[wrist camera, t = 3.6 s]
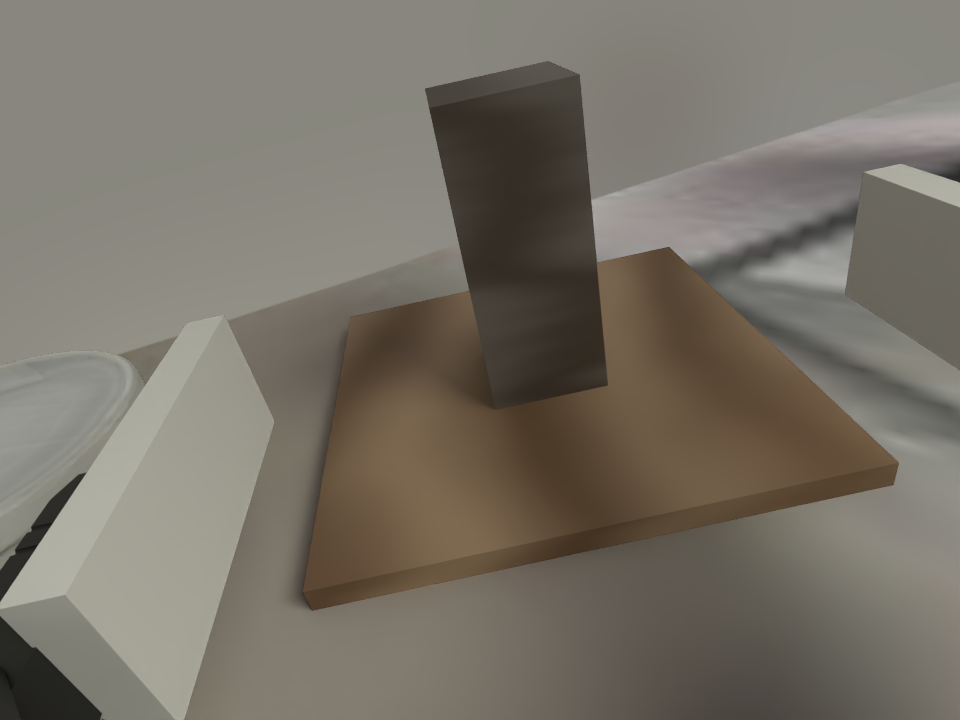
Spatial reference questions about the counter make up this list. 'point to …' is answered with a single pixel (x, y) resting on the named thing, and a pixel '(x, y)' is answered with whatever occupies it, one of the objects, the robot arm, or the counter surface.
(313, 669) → the counter surface
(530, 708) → the counter surface
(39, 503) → the ramekin
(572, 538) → the board with upright post
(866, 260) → the robot arm
